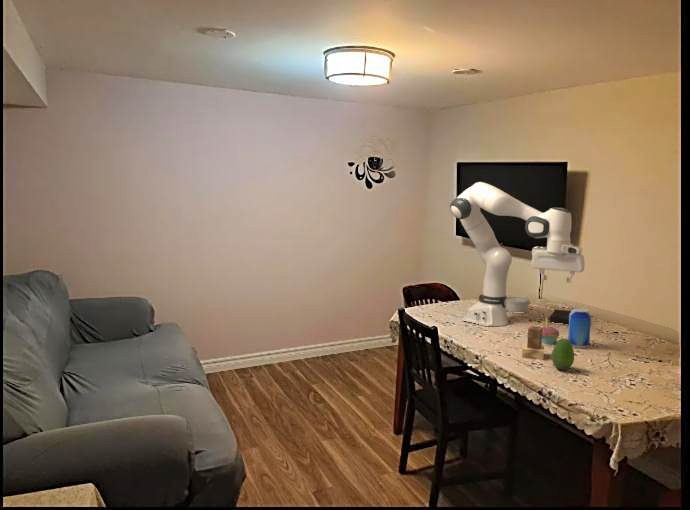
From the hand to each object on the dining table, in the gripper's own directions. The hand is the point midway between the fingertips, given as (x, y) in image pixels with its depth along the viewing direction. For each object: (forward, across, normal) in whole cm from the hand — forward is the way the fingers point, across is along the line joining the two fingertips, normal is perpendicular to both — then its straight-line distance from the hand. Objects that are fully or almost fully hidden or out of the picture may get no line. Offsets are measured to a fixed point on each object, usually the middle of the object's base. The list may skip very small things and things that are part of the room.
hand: (556, 281), depth 217 cm
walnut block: (+26, -5, -10) cm, 29 cm away
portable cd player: (+31, -3, +56) cm, 63 cm away
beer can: (+30, +8, +14) cm, 34 cm away
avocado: (+30, +8, -20) cm, 37 cm away
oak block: (+30, -5, -11) cm, 33 cm away
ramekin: (+30, -32, +62) cm, 77 cm away
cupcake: (+30, -4, +12) cm, 32 cm away
